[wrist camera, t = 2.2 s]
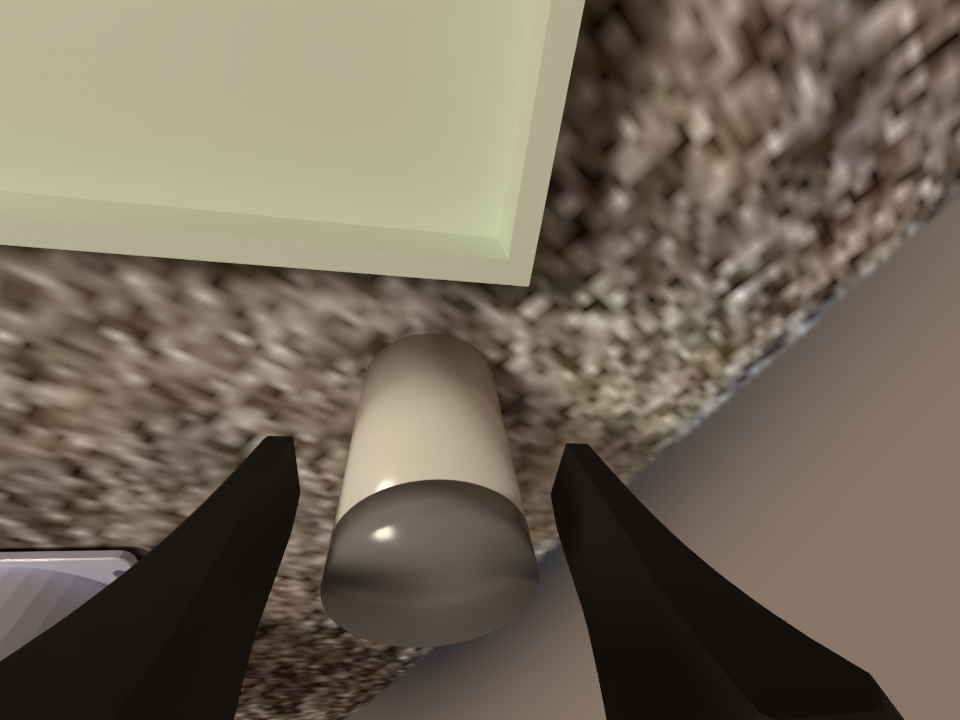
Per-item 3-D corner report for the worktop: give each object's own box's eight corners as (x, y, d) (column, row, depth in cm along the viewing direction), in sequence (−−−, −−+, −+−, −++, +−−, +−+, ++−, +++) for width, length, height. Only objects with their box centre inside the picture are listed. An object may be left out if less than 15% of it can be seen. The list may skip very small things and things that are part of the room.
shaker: (485, 440, 16) (519, 642, 10) (363, 438, 16) (327, 652, 10) (503, 337, 14) (560, 520, 8) (362, 329, 13) (312, 523, 7)
